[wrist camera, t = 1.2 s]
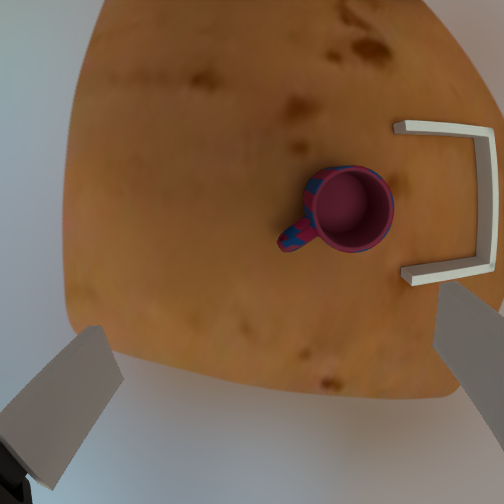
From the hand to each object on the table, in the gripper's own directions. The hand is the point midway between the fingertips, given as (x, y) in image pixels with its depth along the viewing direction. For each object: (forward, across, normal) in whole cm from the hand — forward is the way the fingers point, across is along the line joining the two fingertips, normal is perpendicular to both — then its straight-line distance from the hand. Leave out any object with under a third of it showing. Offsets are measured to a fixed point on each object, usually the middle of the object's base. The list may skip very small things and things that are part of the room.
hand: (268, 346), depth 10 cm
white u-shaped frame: (+20, +19, +1) cm, 27 cm away
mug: (+20, +5, +2) cm, 21 cm away
